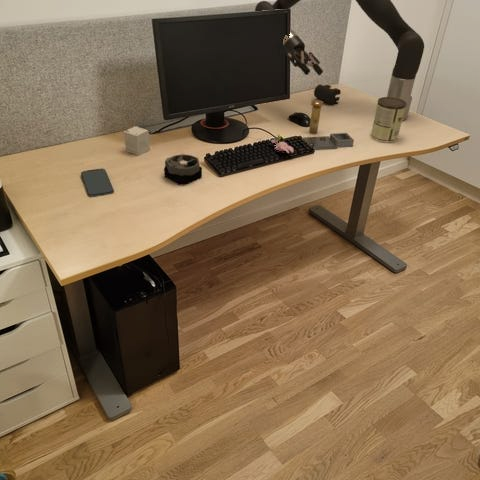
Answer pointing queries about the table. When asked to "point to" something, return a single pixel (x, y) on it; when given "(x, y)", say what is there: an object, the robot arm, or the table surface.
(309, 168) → the table surface
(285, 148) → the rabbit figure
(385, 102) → the coffee can
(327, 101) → the end cap
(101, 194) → the smartphone
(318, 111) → the hinge pin
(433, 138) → the table surface
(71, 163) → the table surface
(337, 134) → the grey tray fixture
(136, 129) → the skincare box
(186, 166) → the cpu cooler
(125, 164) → the table surface
